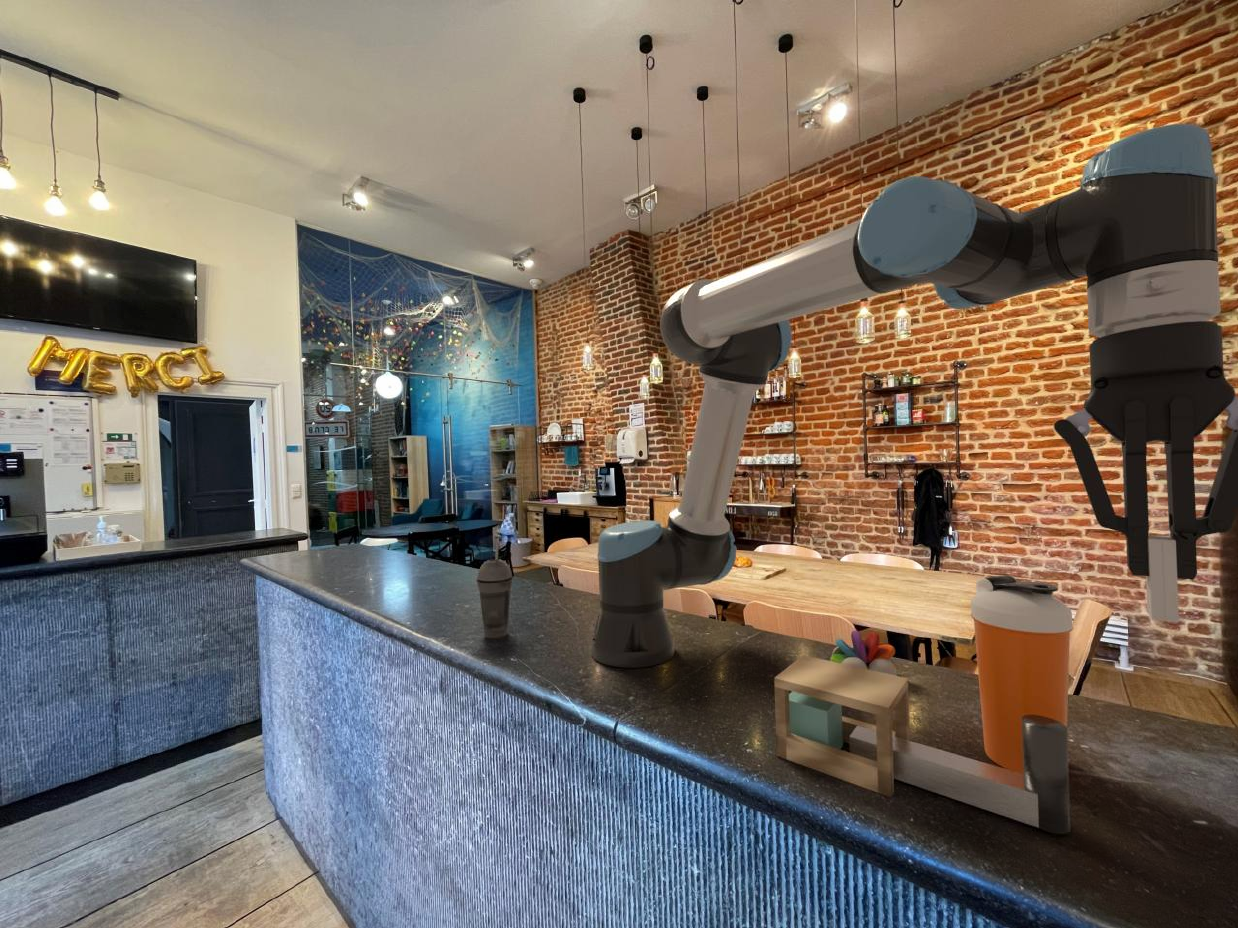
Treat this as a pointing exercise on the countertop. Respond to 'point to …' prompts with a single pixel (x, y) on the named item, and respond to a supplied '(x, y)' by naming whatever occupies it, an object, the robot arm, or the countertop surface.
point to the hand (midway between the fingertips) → (1162, 616)
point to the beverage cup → (495, 595)
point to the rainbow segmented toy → (865, 654)
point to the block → (816, 719)
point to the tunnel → (844, 719)
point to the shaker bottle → (1019, 660)
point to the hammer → (990, 774)
